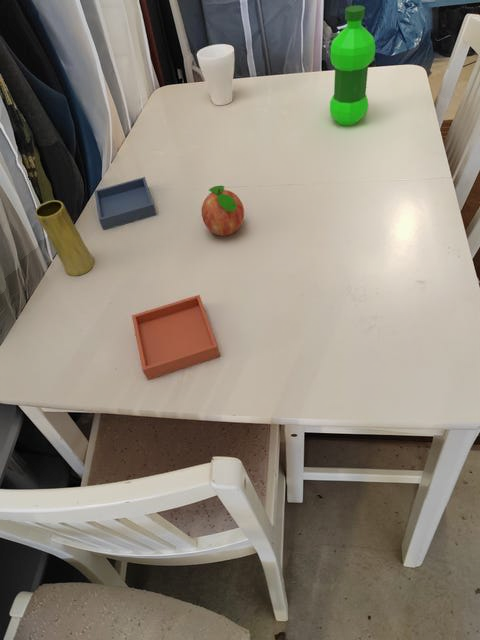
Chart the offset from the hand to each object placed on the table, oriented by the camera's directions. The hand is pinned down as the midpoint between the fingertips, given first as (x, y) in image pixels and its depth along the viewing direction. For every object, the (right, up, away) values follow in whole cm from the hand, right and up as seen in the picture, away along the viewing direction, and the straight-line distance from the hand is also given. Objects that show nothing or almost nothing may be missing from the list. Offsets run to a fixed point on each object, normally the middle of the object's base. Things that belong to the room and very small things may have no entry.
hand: (8, 203), depth 82 cm
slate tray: (+17, +4, +20) cm, 26 cm away
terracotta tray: (+32, -25, -7) cm, 42 cm away
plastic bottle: (+71, +30, +33) cm, 85 cm away
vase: (+10, -11, +9) cm, 17 cm away
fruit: (+40, -3, +11) cm, 42 cm away
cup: (+38, +44, +50) cm, 77 cm away
